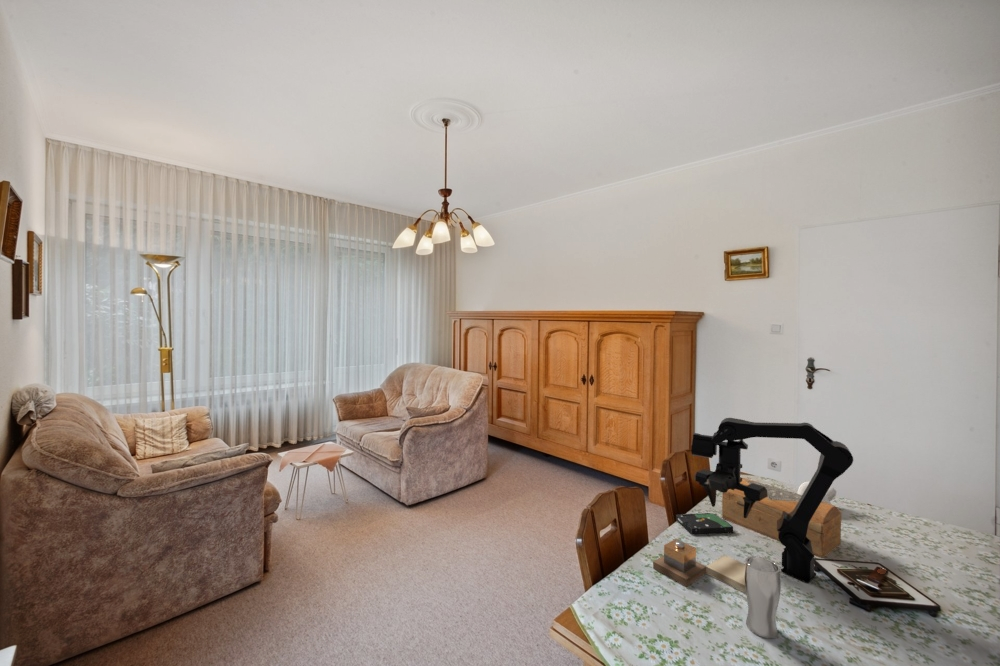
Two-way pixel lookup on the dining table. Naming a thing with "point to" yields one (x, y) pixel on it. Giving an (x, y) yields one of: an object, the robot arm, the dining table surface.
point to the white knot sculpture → (827, 498)
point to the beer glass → (762, 595)
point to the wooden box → (769, 510)
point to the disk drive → (704, 524)
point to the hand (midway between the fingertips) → (728, 511)
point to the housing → (680, 555)
